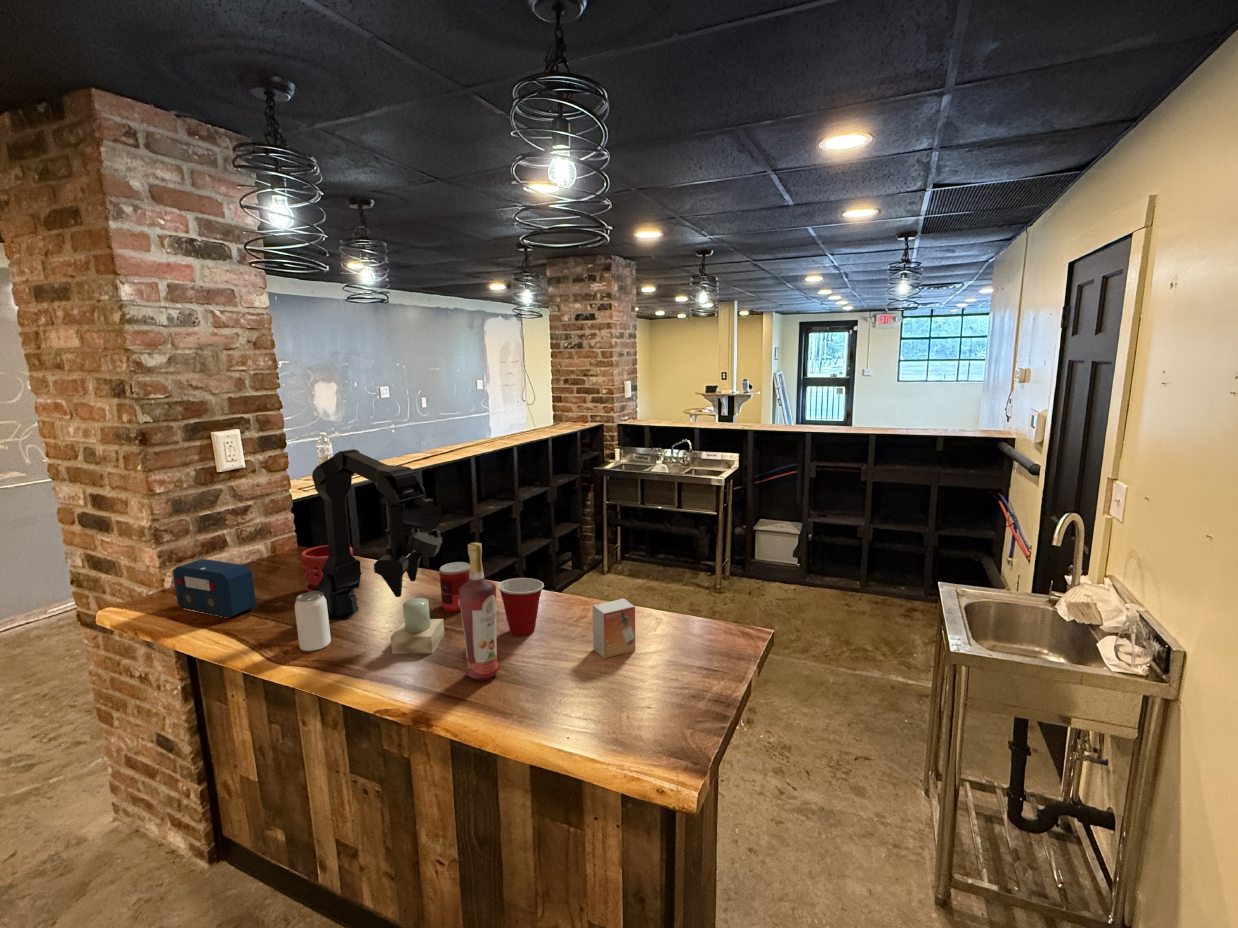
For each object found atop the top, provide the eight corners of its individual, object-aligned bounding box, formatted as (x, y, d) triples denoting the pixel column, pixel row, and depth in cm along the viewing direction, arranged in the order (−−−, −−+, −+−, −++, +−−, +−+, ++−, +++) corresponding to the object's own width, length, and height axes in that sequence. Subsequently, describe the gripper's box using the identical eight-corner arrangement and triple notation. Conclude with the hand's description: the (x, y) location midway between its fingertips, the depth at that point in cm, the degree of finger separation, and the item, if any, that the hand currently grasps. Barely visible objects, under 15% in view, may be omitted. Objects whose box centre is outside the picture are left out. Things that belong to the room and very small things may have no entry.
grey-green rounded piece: (401, 633, 133) (399, 608, 132) (410, 622, 139) (408, 598, 138) (425, 632, 133) (423, 607, 132) (433, 622, 139) (431, 597, 138)
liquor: (483, 688, 118) (474, 552, 113) (457, 678, 121) (447, 546, 117) (508, 671, 124) (501, 542, 119) (482, 662, 128) (474, 537, 123)
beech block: (392, 653, 132) (390, 636, 132) (406, 635, 141) (405, 619, 140) (432, 653, 132) (431, 636, 131) (444, 634, 141) (443, 618, 140)
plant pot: (343, 598, 164) (338, 556, 162) (296, 599, 164) (291, 557, 162) (363, 581, 177) (360, 542, 175) (320, 581, 177) (315, 542, 175)
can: (337, 640, 139) (332, 592, 137) (315, 653, 133) (309, 603, 131) (315, 637, 141) (310, 589, 139) (293, 649, 135) (286, 599, 133)
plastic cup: (555, 629, 142) (553, 582, 140) (519, 646, 135) (516, 595, 133) (527, 617, 150) (524, 571, 148) (491, 631, 142) (488, 584, 140)
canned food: (476, 600, 161) (474, 561, 159) (466, 613, 153) (463, 572, 151) (449, 599, 162) (446, 561, 160) (437, 612, 154) (434, 571, 152)
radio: (173, 611, 158) (161, 538, 154) (205, 598, 166) (195, 529, 162) (228, 622, 150) (217, 546, 147) (259, 608, 158) (250, 536, 155)
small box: (603, 659, 128) (602, 613, 126) (592, 648, 133) (591, 604, 131) (636, 650, 131) (635, 606, 130) (624, 640, 136) (623, 597, 135)
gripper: (422, 536, 125) (427, 605, 128) (449, 512, 143) (452, 573, 146) (370, 536, 125) (375, 605, 128) (403, 512, 143) (407, 573, 146)
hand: (405, 588), depth 137 cm, fingers open, 9 cm apart
